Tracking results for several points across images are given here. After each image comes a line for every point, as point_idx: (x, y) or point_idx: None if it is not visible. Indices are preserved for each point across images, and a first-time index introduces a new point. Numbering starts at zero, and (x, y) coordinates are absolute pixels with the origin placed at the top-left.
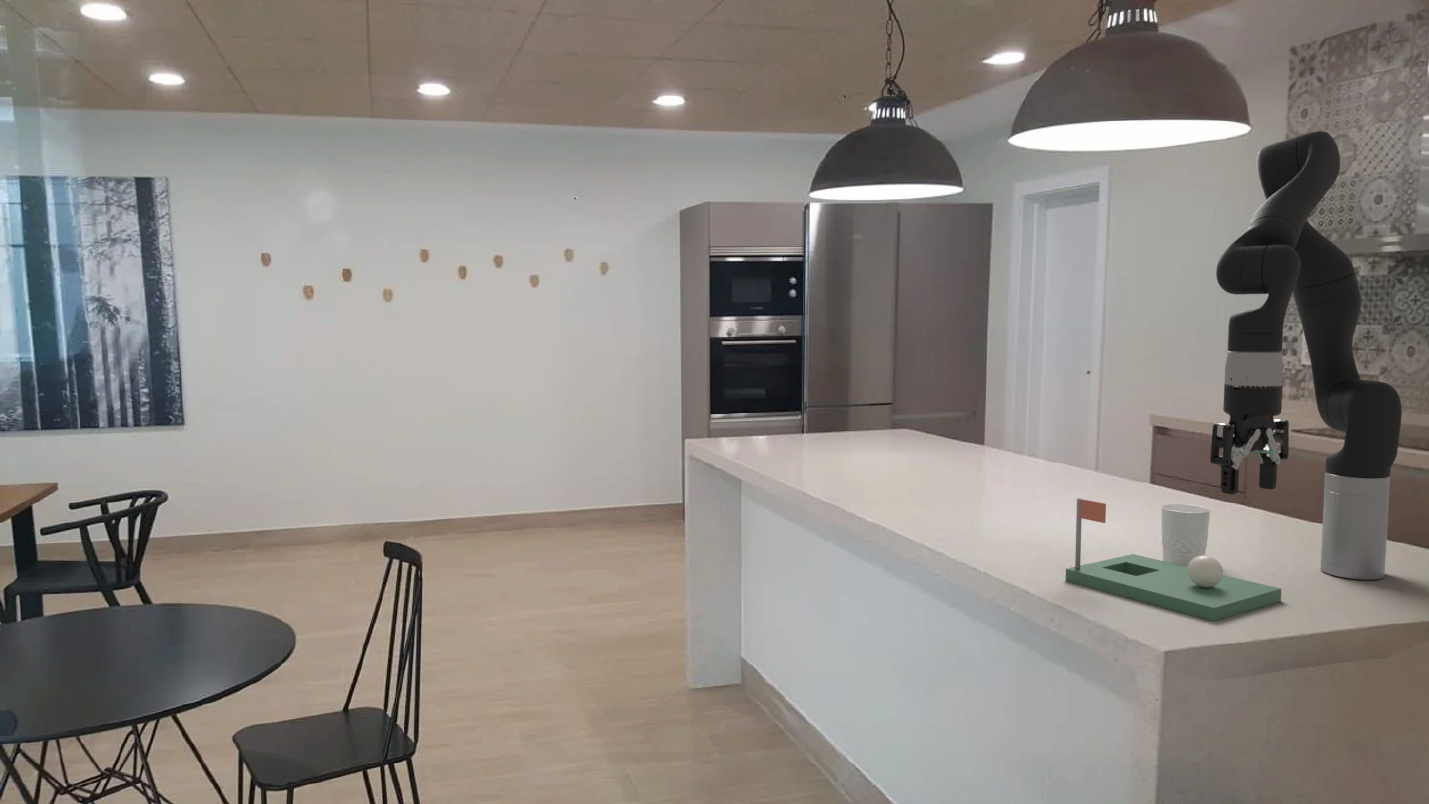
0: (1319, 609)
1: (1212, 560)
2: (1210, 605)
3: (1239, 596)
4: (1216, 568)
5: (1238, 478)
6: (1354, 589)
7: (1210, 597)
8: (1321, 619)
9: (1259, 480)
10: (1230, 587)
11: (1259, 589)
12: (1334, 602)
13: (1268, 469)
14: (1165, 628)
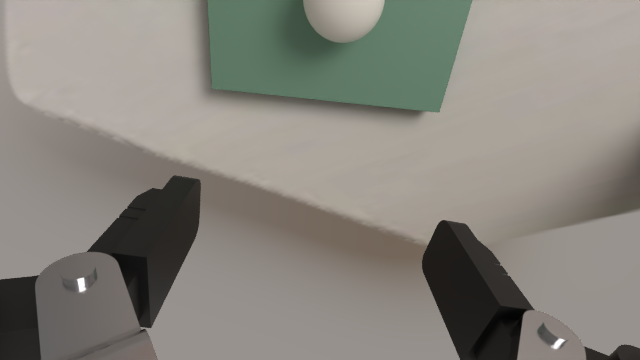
0: (422, 162)
1: (337, 23)
2: (220, 76)
3: (324, 84)
4: (329, 37)
5: (170, 284)
6: (590, 154)
7: (271, 50)
8: (368, 182)
9: (455, 236)
10: (377, 42)
11: (403, 88)
12: (481, 162)
13: (461, 319)
14: (105, 45)
